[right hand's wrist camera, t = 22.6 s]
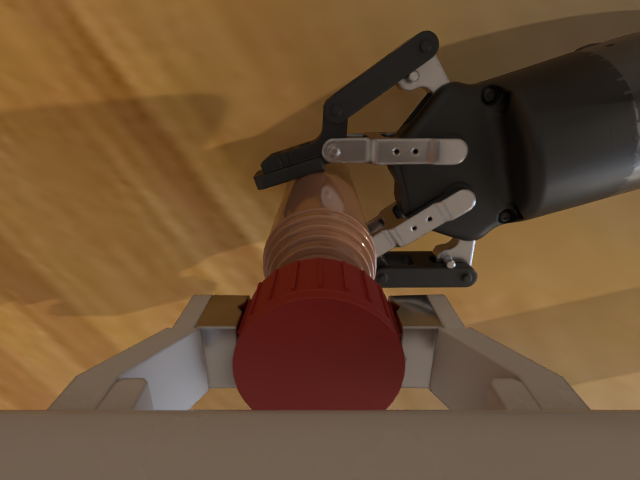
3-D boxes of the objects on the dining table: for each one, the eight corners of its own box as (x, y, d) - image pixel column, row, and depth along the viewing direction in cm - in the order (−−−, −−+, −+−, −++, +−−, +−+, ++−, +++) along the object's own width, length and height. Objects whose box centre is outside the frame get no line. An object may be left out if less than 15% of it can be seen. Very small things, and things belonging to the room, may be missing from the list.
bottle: (320, 138, 25) (319, 236, 8) (362, 181, 26) (441, 350, 9) (279, 181, 26) (197, 349, 9) (320, 221, 27) (318, 437, 10)
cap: (393, 251, 9) (411, 290, 7) (391, 375, 11) (405, 433, 9) (236, 259, 9) (215, 299, 7) (256, 382, 11) (243, 439, 9)
